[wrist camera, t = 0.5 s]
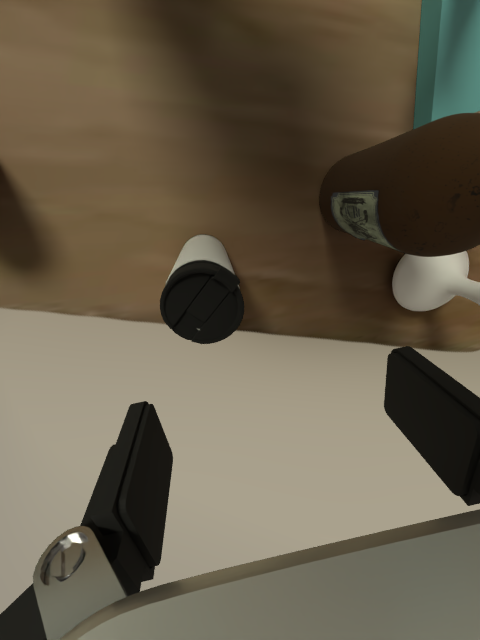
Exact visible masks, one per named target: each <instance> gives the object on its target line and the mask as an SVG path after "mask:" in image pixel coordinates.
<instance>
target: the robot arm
mask: <svg viewBox="0 0 480 640" xmlns="http://www.w3.org/2000/svg"><path fill="white" fill-rule="evenodd" d="M384 408H385V411H386V413H387V415H388V416H389V417H390V418H391V420H392V421H393V422H394V423H395V424H396V426H397V427H398V428H399V429H400V430H401V432H402V433H403V434H404V435H405V436H406V437H407V439H408V440H409V441H410V442H411V444H412V445H413V446H414V447H415V448H416V450H417V451H418V452H419V453H420V454H421V456H422V457H423V458H424V459H425V460H426V462H427V463H428V464H429V465H430V466H431V468H432V469H433V470H434V471H435V472H436V474H437V475H438V476H439V477H440V478H441V480H442V481H443V482H444V483H445V484H446V486H447V487H448V488H449V489H450V490H451V491H452V493H454V494H455V495H457V496H460V497H461V498H462V499H463V500H464V502H465V503H466V504H467V505H468V506H470V505H474V504H479V503H480V398H479V397H478V396H476V395H475V394H474V393H472V392H471V391H470V390H468V389H467V388H466V387H464V386H463V385H462V384H460V383H459V382H457V381H456V380H455V379H453V378H452V377H451V376H449V375H448V374H447V373H445V372H444V371H443V370H441V369H440V368H438V367H437V366H436V365H434V364H433V363H432V362H430V361H429V360H428V359H426V358H425V357H424V356H422V355H421V354H419V353H418V352H417V351H415V350H414V349H413V348H411V347H409V346H406V347H402V348H397V349H393V350H392V352H391V354H389V355H388V361H387V374H386V387H385V400H384ZM172 464H173V456H172V451H171V448H170V446H169V443H168V441H167V438H166V436H165V433H164V431H163V428H162V426H161V423H160V421H159V418H158V416H157V413H156V410H155V408H154V406H153V404H148V402H146V401H144V402H140V403H135V404H131V405H130V407H129V410H128V412H127V415H126V418H125V420H124V423H123V426H122V429H121V431H120V434H119V437H118V440H117V442H116V444H115V445H113V446H112V447H111V448H110V450H109V451H108V454H107V457H106V460H105V462H104V465H103V467H102V470H101V473H100V475H99V478H98V481H97V483H96V486H95V488H94V491H93V494H92V496H91V499H90V502H89V504H88V507H87V510H86V512H85V515H84V518H83V520H82V523H81V525H80V526H78V527H74V528H72V529H69V530H67V531H66V532H64V533H63V534H61V535H60V536H58V537H57V538H56V539H55V540H54V541H53V542H52V543H51V544H50V545H49V546H48V547H47V549H46V550H45V551H44V553H43V554H42V555H41V557H40V559H39V561H38V563H37V565H36V567H35V571H34V574H33V584H32V585H31V586H30V587H29V588H27V589H26V590H25V591H24V592H23V593H22V594H21V595H20V596H19V597H18V598H17V599H16V600H15V601H14V602H13V603H12V604H11V605H10V606H9V607H8V608H7V609H6V610H5V611H3V612H2V613H1V614H0V640H480V510H475V511H470V512H466V513H462V514H457V515H452V516H448V517H444V518H439V519H435V520H430V521H426V522H422V523H417V524H413V525H408V526H404V527H400V528H395V529H391V530H386V531H382V532H378V533H374V534H369V535H365V536H361V537H356V538H352V539H348V540H343V541H339V542H335V543H330V544H326V545H322V546H318V547H313V548H309V549H305V550H301V551H296V552H292V553H288V554H284V555H280V556H276V557H271V558H267V559H263V560H259V561H255V562H250V563H246V564H242V565H238V566H234V567H230V568H225V569H222V570H217V571H213V572H209V573H206V574H202V575H198V576H194V577H190V578H186V579H182V580H178V581H175V582H171V583H167V584H163V585H160V586H157V587H154V588H150V589H148V590H144V591H141V592H140V586H141V582H143V581H147V580H151V579H153V576H154V569H155V566H157V565H159V563H160V560H161V554H162V545H163V537H164V529H165V521H166V513H167V505H168V497H169V488H170V480H171V472H172Z"/></svg>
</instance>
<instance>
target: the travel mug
mask: <svg viewBox="0 0 480 640" xmlns="http://www.w3.org/2000/svg"><path fill="white" fill-rule="evenodd" d="M239 283H240V281H239V279H238V277H237V276H236V275H235V273H234V271H233V268H232V266H231V263H230V260H229V258H228V255H227V252H226V250H225V248H224V246H223V244H222V243H221V242H220V241H219V240H218V239H216V238H215V237H213V236H210V235H197V236H194V237H192V238H191V239H189V240H188V241H187V242H186V243H185V245H184V247H183V249H182V251H181V253H180V255H179V257H178V259H177V261H176V263H175V265H174V267H173V269H172V271H171V273H170V275H169V277H168V280H167V282H166V285H165V288H164V290H163V292H162V295H161V299H160V310H161V315H162V317H163V320H164V322H165V323H166V324H167V325H168V326H169V327H170V329H172V330H173V331H174V332H175V333H176V334H178V335H179V336H181V337H183V338H185V339H187V340H192V342H196V343H200V344H210V343H215V342H218V341H221V340H223V339H225V338H227V337H228V336H230V335H231V334H232V333H233V332H234V331H235V330H236V329H237V328H238V326H239V325H240V323H241V321H242V319H243V314H244V301H243V297H242V294H241V291H240V288H239Z"/></svg>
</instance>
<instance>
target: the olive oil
mask: <svg viewBox="0 0 480 640" xmlns="http://www.w3.org/2000/svg"><path fill="white" fill-rule="evenodd" d="M320 208H321V212H322V214H323V216H324V218H325V220H326V221H327V222H328V223H329V224H330V225H331V226H332V227H334V228H335V229H337V230H340V231H343V232H346V233H349V234H351V235H353V236H354V237H355V238H359V239H361V240H365V239H367V240H370V241H373V242H376V243H379V244H381V245H384V246H387V247H390V248H392V249H395V250H398V251H400V252H403V253H406V254H409V255H414V256H420V257H438V256H446V255H452V254H457V253H461V252H464V251H466V250H469V249H472V248H474V247H476V246H478V245H480V113H460V114H454V115H449V116H446V117H443V118H440V119H437V120H434V121H432V122H430V123H427V124H425V125H423V126H420V127H418V128H416V129H413V130H411V131H409V132H406V133H404V134H402V135H399V136H397V137H395V138H392V139H390V140H387V141H385V142H383V143H380V144H378V145H375V146H373V147H370V148H368V149H365V150H362V151H360V152H357V153H354V154H352V155H349V156H347V157H345V158H343V159H341V160H340V161H338V162H337V163H336V164H335V165H334V166H333V167H332V168H331V169H330V170H329V172H328V173H327V175H326V177H325V178H324V181H323V183H322V186H321V190H320Z"/></svg>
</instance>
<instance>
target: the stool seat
mask: <svg viewBox="0 0 480 640" xmlns="http://www.w3.org/2000/svg"><path fill="white" fill-rule="evenodd" d="M460 113H480V0H422V8H421V23H420V38H419V52H418V67H417V82H416V97H415V112H414V126H413V129H416V128H418V127H420V126H423V125H425V124H427V123H430V122H432V121H434V120H437V119H440V118H443V117H446V116H449V115H454V114H460Z"/></svg>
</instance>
